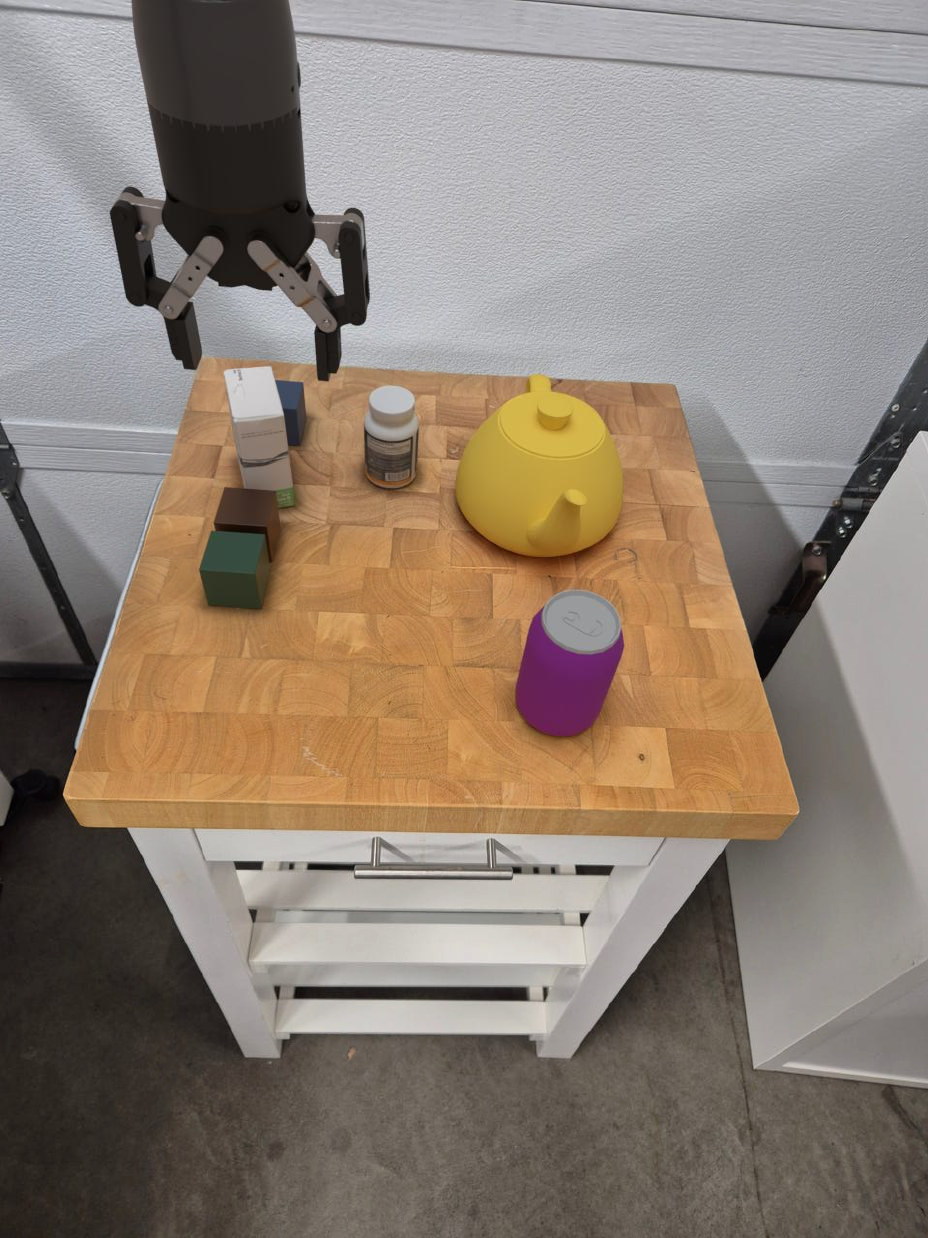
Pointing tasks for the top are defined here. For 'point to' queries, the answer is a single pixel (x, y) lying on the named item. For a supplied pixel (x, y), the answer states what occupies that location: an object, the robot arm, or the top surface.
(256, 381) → the ink box
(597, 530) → the teapot
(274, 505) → the walnut block
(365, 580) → the top surface
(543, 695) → the beverage can
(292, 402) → the slate block
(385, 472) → the pill bottle
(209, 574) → the green block
